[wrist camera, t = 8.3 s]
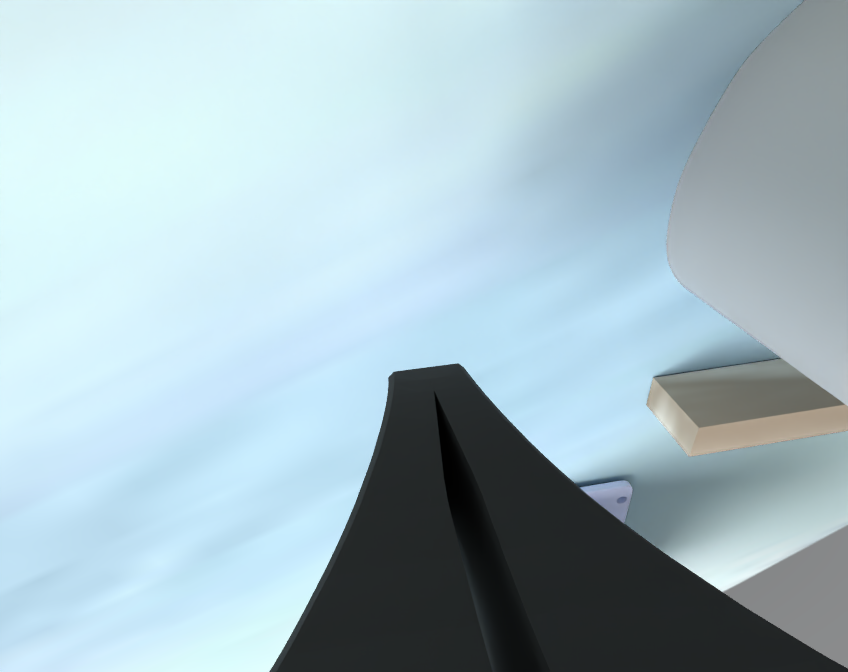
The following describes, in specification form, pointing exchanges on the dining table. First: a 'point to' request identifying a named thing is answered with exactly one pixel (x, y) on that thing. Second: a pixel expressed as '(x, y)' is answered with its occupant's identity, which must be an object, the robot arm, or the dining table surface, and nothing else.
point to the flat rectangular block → (743, 407)
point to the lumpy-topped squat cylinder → (776, 197)
